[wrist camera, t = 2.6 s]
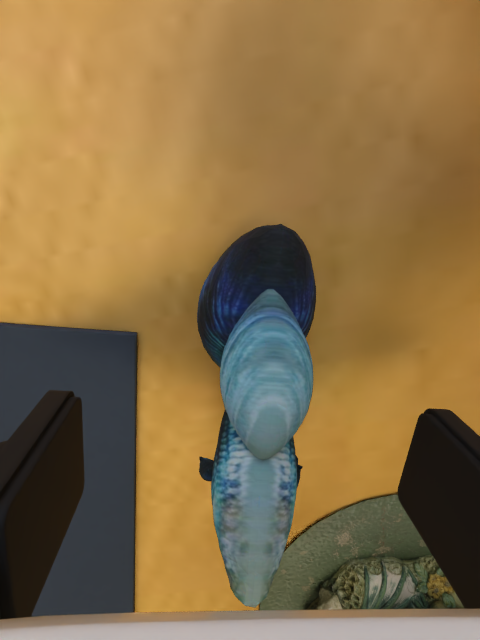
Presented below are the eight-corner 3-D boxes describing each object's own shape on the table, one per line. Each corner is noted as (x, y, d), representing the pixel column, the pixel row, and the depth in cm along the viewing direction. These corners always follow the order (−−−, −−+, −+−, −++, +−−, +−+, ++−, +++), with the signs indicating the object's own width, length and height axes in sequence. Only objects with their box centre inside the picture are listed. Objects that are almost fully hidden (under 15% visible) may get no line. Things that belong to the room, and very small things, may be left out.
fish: (191, 407, 20) (169, 617, 10) (206, 205, 16) (195, 240, 7) (273, 412, 20) (325, 618, 11) (305, 216, 16) (425, 263, 7)
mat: (-137, 312, 17) (-145, 315, 16) (137, 332, 18) (135, 335, 18) (-56, 634, 24) (-61, 641, 24) (134, 634, 25) (132, 640, 25)
